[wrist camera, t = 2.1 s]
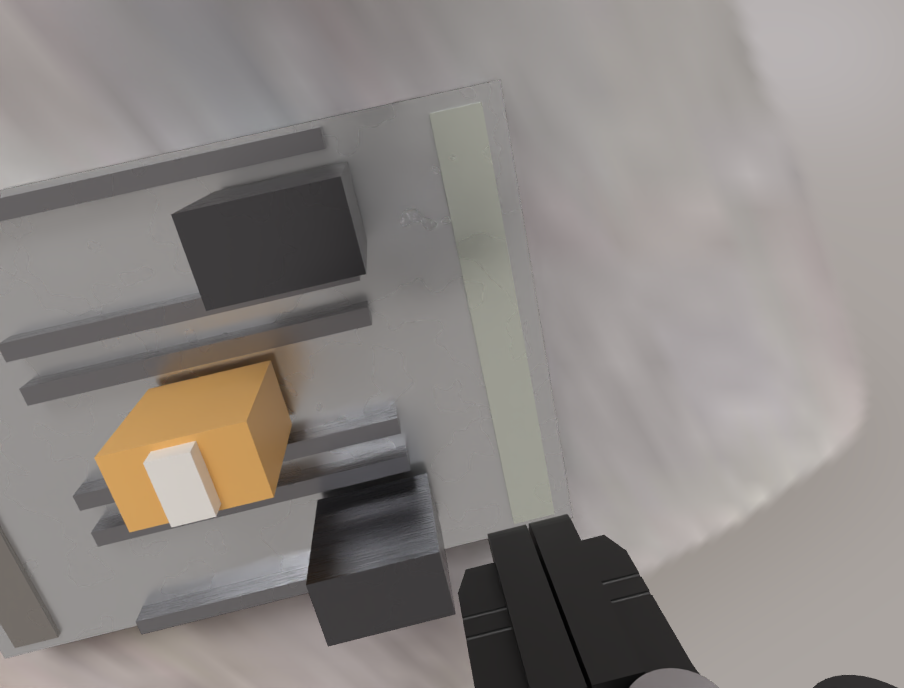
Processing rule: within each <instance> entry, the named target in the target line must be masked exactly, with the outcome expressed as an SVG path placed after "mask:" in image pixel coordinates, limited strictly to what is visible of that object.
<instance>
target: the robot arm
mask: <svg viewBox="0 0 904 688" xmlns="http://www.w3.org/2000/svg"><path fill="white" fill-rule="evenodd" d="M529 532H530V533H529ZM487 535H488V540H489V544H490V549H491V553H492V557H493V562H494V563H491V564H487V565H483V566H479V567H475V568H471V569H467V570H466V571H465V574H464V577H463V580H462V583H461V586H460V589H459V592H458V596H459V601H460V607H461V613H462V618H463V624H464V630H465V635H466V640H467V646H468V652H469V658H470V663H471V669H472V675H473V680H474V686H475V688H719V687H718V686H717V685H715V684H714V683H713V682H712V681H710V680H708V679H707V678H705V677H703V676H701V675H700V674H699V673H698V672H697V670H696V669H695V667H694V666H693V665H692V663H691V661H690V660H689V658H688V656H687V654H686V653H685V651H684V649H683V648H682V646H681V644H680V642H679V641H678V639H677V637H676V635H675V634H674V632H673V630H672V629H671V627H670V625H669V624H668V622H667V620H666V618H665V617H664V615H663V613H662V611H661V610H660V608H659V606H658V605H657V603H656V601H655V599H654V598H653V596H652V595H651V594H650V592H649V589H648V587H647V586H646V584H645V582H644V580H643V579H642V577H640V575H639V572H638V570H637V568H636V567H635V565H634V563H633V562H632V560H631V558H630V556H629V555H628V553H627V551H626V550H625V549H623V548H622V547H620V546H619V545H618V544H616V543H615V542H613V541H612V540H610V539H609V538H608V537H606V536H605V535H602V536H598V537H594V538H590V539H586V540H582V541H581V539H580V537H579V535H578V533H577V531H576V529H575V527H574V525H573V523H572V521H571V519H570V517H569V515H568V514H565V515H561V516H557V517H553V518H549V519H544V520H540V521H536V522H532V523H529V530H528V528H527V526H526V524H525V525H521V526H517V527H513V528H509V529H505V530H501V531H497V532H493V533H489V534H487ZM813 688H897V687H895V686H892V685H890V684H888V683H885V682H882V681H879V680H877V679H873V678H869V677H865V676H856V675H841V676H835V677H831V678H828V679H825V680H823V681H821V682H820V683H818V684H817V685H816V686H814V687H813Z"/></svg>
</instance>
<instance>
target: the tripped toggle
mask: <svg viewBox="0 0 904 688" xmlns="http://www.w3.org/2000/svg"><path fill="white" fill-rule="evenodd" d="M291 427H292V422H291V419H290V416H289V413H288V410H287V407H286V404H285V401H284V398H283V395H282V392H281V389H280V386H279V383H278V380H277V377H276V374H275V371H274V369H273V366H272V363H271V360H269V361H265V362H261V363H256V364H252V365H248V366H244V367H239V368H235V369H231V370H227V371H222V372H218V373H214V374H210V375H205V376H201V377H197V378H193V379H188V380H184V381H180V382H176V383H171V384H167V385H163V386H159V387H154V388H150V389H148V390H147V392H146V393H145V394H144V395H143V397H142V398H141V399H140V401H139V402H138V403H137V404H136V406H135V407H134V408H133V409H132V411H131V412H130V413H129V414H128V416H127V417H126V418H125V419H124V421H123V422H122V423H121V425H120V426H119V427H118V428H117V430H116V431H115V432H114V433H113V435H112V436H111V437H110V438H109V440H108V441H107V442H106V443H105V445H104V446H103V447H102V449H101V450H100V451H99V452H98V454H97V455H96V456H95V457H94V458H95V460H96V463H97V465H98V467H99V469H100V471H101V473H102V475H103V477H104V480H105V482H106V484H107V486H108V488H109V490H110V492H111V494H112V497H113V499H114V501H115V503H116V505H117V507H118V509H119V511H120V513H121V516H122V518H123V520H124V522H125V524H126V526H127V528H128V530H129V533H130V532H134V531H138V530H142V529H146V528H150V527H154V526H158V525H162V524H167V523H170V526H171V528H172V527H176V526H180V525H184V524H188V523H192V522H196V521H200V520H204V519H208V518H213V517H216V516H217V513H218V511H220V510H224V509H228V508H232V507H236V506H241V505H245V504H249V503H253V502H257V501H261V500H265V499H269V498H273V497H274V495H275V491H276V487H277V483H278V479H279V475H280V471H281V467H282V463H283V459H284V455H285V451H286V447H287V443H288V439H289V435H290V431H291Z"/></svg>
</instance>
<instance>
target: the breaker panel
mask: <svg viewBox="0 0 904 688" xmlns="http://www.w3.org/2000/svg"><path fill="white" fill-rule="evenodd" d="M269 360H271V363H272V366H273V369H274V371H275V374H276V377H277V380H278V383H279V386H280V389H281V392H282V395H283V398H284V401H285V404H286V407H287V410H288V413H289V416H290V419H291V422H292V427H291V431H290V435H289V439H288V443H287V447H286V451H285V455H284V459H283V463H282V467H281V471H280V475H279V479H278V483H277V487H276V491H275V495H274V497H273V498H269V499H265V500H261V501H257V502H253V503H249V504H245V505H241V506H236V507H232V508H228V509H224V510H220V511H218V513H217V516H216V517H213V518H208V519H204V520H200V521H196V522H192V523H188V524H184V525H180V526H176V527H172V528H171V526H170V523H167V524H162V525H158V526H154V527H150V528H146V529H142V530H138V531H134V532H130V533H129V530H128V528H127V526H126V524H125V522H124V520H123V518H122V516H121V513H120V511H119V509H118V507H117V505H116V503H115V501H114V499H113V497H112V494H111V492H110V490H109V488H108V486H107V484H106V482H105V480H104V477H103V475H102V473H101V471H100V469H99V467H98V465H97V463H96V460H95V458H94V457H95V456H96V455H97V454H98V452H99V451H100V450H101V449H102V447H103V446H104V445H105V443H106V442H107V441H108V440H109V438H110V437H111V436H112V435H113V433H114V432H115V431H116V430H117V428H118V427H119V426H120V425H121V423H122V422H123V421H124V419H125V418H126V417H127V416H128V414H129V413H130V412H131V411H132V409H133V408H134V407H135V406H136V404H137V403H138V402H139V401H140V399H141V398H142V397H143V395H144V394H145V393H146V392H147V390H148V389H150V388H154V387H159V386H163V385H167V384H171V383H176V382H180V381H184V380H188V379H193V378H197V377H201V376H205V375H210V374H214V373H218V372H222V371H227V370H231V369H235V368H239V367H244V366H248V365H252V364H256V363H261V362H265V361H269ZM565 514H568V515H569V517H570V518H572V517H573V515H572V509H571V503H570V497H569V491H568V485H567V479H566V473H565V467H564V461H563V455H562V449H561V443H560V437H559V431H558V425H557V419H556V413H555V406H554V400H553V394H552V388H551V382H550V376H549V370H548V364H547V358H546V352H545V346H544V340H543V334H542V328H541V322H540V316H539V310H538V304H537V298H536V292H535V286H534V280H533V274H532V267H531V261H530V255H529V249H528V243H527V237H526V231H525V225H524V219H523V213H522V207H521V201H520V195H519V189H518V183H517V177H516V171H515V165H514V159H513V153H512V147H511V141H510V134H509V128H508V122H507V116H506V110H505V104H504V98H503V92H502V86H501V80H496V81H492V82H487V83H483V84H478V85H474V86H469V87H465V88H460V89H456V90H451V91H447V92H442V93H437V94H433V95H428V96H424V97H419V98H415V99H410V100H406V101H401V102H397V103H392V104H388V105H383V106H379V107H374V108H370V109H365V110H361V111H356V112H352V113H347V114H343V115H338V116H334V117H329V118H325V119H320V120H316V121H311V122H307V123H302V124H298V125H293V126H289V127H284V128H279V129H275V130H270V131H266V132H261V133H257V134H252V135H248V136H243V137H239V138H234V139H230V140H225V141H221V142H216V143H212V144H207V145H203V146H198V147H194V148H189V149H185V150H180V151H176V152H171V153H167V154H162V155H158V156H153V157H149V158H144V159H140V160H135V161H131V162H126V163H121V164H117V165H112V166H108V167H103V168H99V169H94V170H90V171H85V172H81V173H76V174H72V175H67V176H63V177H58V178H54V179H49V180H45V181H40V182H36V183H31V184H27V185H22V186H18V187H13V188H9V189H4V190H0V651H1V653H2V654H3V656H4V658H9V657H13V656H17V655H21V654H25V653H29V652H33V651H37V650H41V649H45V648H50V647H54V646H58V645H62V644H66V643H70V642H74V641H78V640H82V639H86V638H90V637H94V636H98V635H102V634H106V633H110V632H114V631H118V630H122V629H126V628H130V627H134V626H138V628H139V630H140V632H141V634H146V633H150V632H154V631H158V630H162V629H166V628H170V627H174V626H178V625H182V624H186V623H190V622H194V621H198V620H202V619H206V618H210V617H214V616H218V615H222V614H226V613H230V612H234V611H238V610H242V609H246V608H250V607H254V606H258V605H262V604H266V603H270V602H274V601H278V600H282V599H286V598H290V597H294V596H298V595H302V594H306V593H309V595H310V598H311V601H312V603H313V606H314V609H315V612H316V614H317V617H318V620H319V623H320V625H321V628H322V631H323V634H324V636H325V639H326V642H327V645H328V646H332V645H336V644H339V643H343V642H347V641H351V640H355V639H359V638H363V637H367V636H371V635H375V634H379V633H383V632H387V631H391V630H395V629H399V628H403V627H407V626H411V625H415V624H419V623H422V622H426V621H430V620H434V619H438V618H442V617H446V616H450V615H454V614H455V608H454V602H453V596H452V590H451V584H450V578H449V572H448V566H447V560H446V554H445V549H447V548H451V547H455V546H459V545H463V544H467V543H471V542H475V541H479V540H483V539H487V538H488V535H487V534H489V533H493V532H497V531H501V530H505V529H509V528H513V527H517V526H521V525H525V524H526V526H527V528H529V523H532V522H536V521H540V520H544V519H549V518H553V517H557V516H561V515H565Z"/></svg>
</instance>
